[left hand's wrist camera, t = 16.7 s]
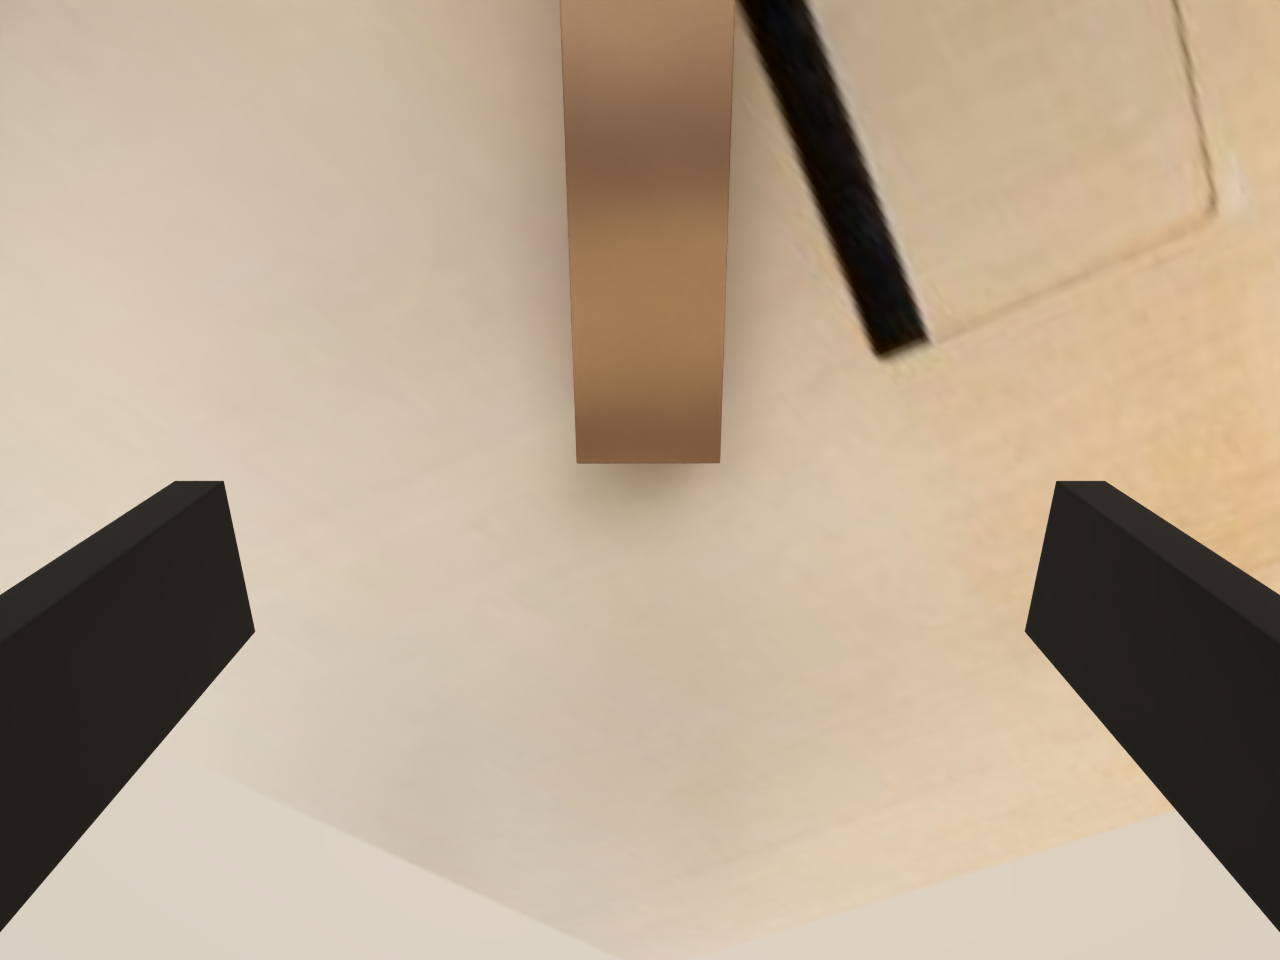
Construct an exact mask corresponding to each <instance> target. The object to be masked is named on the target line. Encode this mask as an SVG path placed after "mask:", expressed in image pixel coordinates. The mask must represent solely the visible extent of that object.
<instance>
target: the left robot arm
mask: <svg viewBox="0 0 1280 960" xmlns="http://www.w3.org/2000/svg"><path fill="white" fill-rule="evenodd" d="M254 632H255V629H254V624H253V619H252V614H251V610H250V605H249V600H248V595H247V590H246V586H245V581H244V576H243V571H242V567H241V562H240V557H239V552H238V547H237V543H236V538H235V533H234V528H233V523H232V519H231V514H230V509H229V504H228V500H227V495H226V490H225V485H224V481H174V482H173V483H171V484H170V485H168V486H167V487H165V488H164V489H162V490H161V491H159V492H158V493H156V494H154V495H153V496H151V497H150V498H148V499H147V500H145V501H144V502H142V503H141V504H139V505H138V506H136V507H135V508H133V509H131V510H130V511H128V512H127V513H125V514H124V515H122V516H121V517H119V518H118V519H116V520H115V521H113V522H112V523H110V524H108V525H107V526H105V527H104V528H102V529H101V530H99V531H98V532H96V533H95V534H93V535H92V536H90V537H88V538H87V539H85V540H84V541H82V542H81V543H79V544H78V545H76V546H75V547H73V548H72V549H70V550H69V551H67V552H65V553H64V554H62V555H61V556H59V557H58V558H56V559H55V560H53V561H52V562H50V563H49V564H47V565H46V566H44V567H42V568H41V569H39V570H38V571H36V572H35V573H33V574H32V575H30V576H29V577H27V578H26V579H24V580H23V581H21V582H19V583H18V584H16V585H15V586H13V587H12V588H10V589H9V590H7V591H6V592H4V593H3V594H1V595H0V932H1V931H2V929H3V928H4V927H5V926H6V925H7V924H8V922H9V921H10V920H11V919H12V918H13V916H14V915H15V914H16V913H17V912H18V911H19V909H20V908H21V907H22V906H23V905H24V904H25V902H26V901H27V900H28V899H29V898H30V896H31V895H32V894H33V893H34V892H35V891H36V889H37V888H38V887H39V886H40V885H41V883H42V882H43V881H44V880H45V879H46V877H47V876H48V875H49V874H50V873H51V872H52V871H53V869H54V868H55V867H56V866H57V865H58V863H59V862H60V861H61V860H62V859H63V857H64V856H65V855H66V854H67V853H68V852H69V850H70V849H71V848H72V847H73V846H74V845H75V843H76V842H77V841H78V840H79V839H80V838H81V836H82V835H83V834H84V833H85V832H86V830H87V829H88V828H89V827H90V826H91V825H92V823H93V822H94V821H95V820H96V819H97V817H98V816H99V815H100V814H101V813H102V812H103V810H104V809H105V808H106V807H107V806H108V804H109V803H110V802H111V801H112V800H113V799H114V797H115V796H116V795H117V794H118V793H119V792H120V790H121V789H122V788H123V787H124V786H125V784H126V783H127V782H128V781H129V780H130V779H131V777H132V776H133V775H134V774H135V773H136V771H137V770H138V769H139V768H140V767H141V766H142V764H143V763H144V762H145V761H146V760H147V759H148V757H149V756H150V755H151V754H152V753H153V751H154V750H155V749H156V748H157V747H158V746H159V744H160V743H161V742H162V741H163V740H164V738H165V737H166V736H167V735H168V734H169V733H170V731H171V730H172V729H173V728H174V727H175V726H176V724H177V723H178V722H179V721H180V720H181V718H182V717H183V716H184V715H185V714H186V713H187V711H188V710H189V709H190V708H191V707H192V705H193V704H194V703H195V702H196V701H197V700H198V698H199V697H200V696H201V695H202V694H203V693H204V691H205V690H206V689H207V688H208V687H209V685H210V684H211V683H212V682H213V681H214V680H215V678H216V677H217V676H218V675H219V674H220V672H221V671H222V670H223V669H224V668H225V667H226V665H227V664H228V663H229V662H230V661H231V660H232V658H233V657H234V656H235V655H236V654H237V652H238V651H239V650H240V649H241V648H242V647H243V645H244V644H245V643H246V642H247V641H248V639H249V638H250V637H251V636H252V635H253V634H254ZM1025 632H1026V634H1027V635H1028V636H1029V637H1030V638H1031V639H1032V641H1033V642H1034V643H1035V644H1036V645H1037V647H1038V648H1039V649H1040V650H1041V651H1042V652H1043V654H1044V655H1045V656H1046V657H1047V658H1048V660H1049V661H1050V662H1051V663H1052V664H1053V665H1054V667H1055V668H1056V669H1057V670H1058V671H1059V672H1060V674H1061V675H1062V676H1063V677H1064V678H1065V680H1066V681H1067V682H1068V683H1069V684H1070V685H1071V687H1072V688H1073V689H1074V690H1075V691H1076V693H1077V694H1078V695H1079V696H1080V697H1081V698H1082V700H1083V701H1084V702H1085V703H1086V704H1087V705H1088V707H1089V708H1090V709H1091V710H1092V711H1093V713H1094V714H1095V715H1096V716H1097V717H1098V718H1099V720H1100V721H1101V722H1102V723H1103V724H1104V726H1105V727H1106V728H1107V729H1108V730H1109V731H1110V733H1111V734H1112V735H1113V736H1114V737H1115V738H1116V740H1117V741H1118V742H1119V743H1120V744H1121V746H1122V747H1123V748H1124V749H1125V750H1126V751H1127V753H1128V754H1129V755H1130V756H1131V757H1132V759H1133V760H1134V761H1135V762H1136V763H1137V764H1138V766H1139V767H1140V768H1141V769H1142V770H1143V771H1144V773H1145V774H1146V775H1147V776H1148V777H1149V779H1150V780H1151V781H1152V782H1153V783H1154V784H1155V786H1156V787H1157V788H1158V789H1159V790H1160V792H1161V793H1162V794H1163V795H1164V796H1165V797H1166V799H1167V800H1168V801H1169V802H1170V803H1171V804H1172V806H1173V807H1174V808H1175V809H1176V810H1177V812H1178V813H1179V814H1180V815H1181V816H1182V817H1183V819H1184V820H1185V821H1186V822H1187V823H1188V825H1189V826H1190V827H1191V828H1192V829H1193V830H1194V832H1195V833H1196V834H1197V835H1198V836H1199V837H1200V839H1201V840H1202V841H1203V842H1204V843H1205V845H1206V846H1207V847H1208V848H1209V849H1210V850H1211V852H1212V853H1213V854H1214V855H1215V856H1216V858H1217V859H1218V860H1219V861H1220V862H1221V863H1222V865H1223V866H1224V867H1225V868H1226V869H1227V870H1228V872H1229V873H1230V874H1231V875H1232V876H1233V878H1234V879H1235V880H1236V881H1237V882H1238V883H1239V885H1240V886H1241V887H1242V888H1243V889H1244V891H1245V892H1246V893H1247V894H1248V895H1249V896H1250V898H1251V899H1252V900H1253V901H1254V902H1255V904H1256V905H1257V906H1258V907H1259V908H1260V909H1261V911H1262V912H1263V913H1264V914H1265V915H1266V916H1267V918H1268V919H1269V920H1270V921H1271V922H1272V924H1273V925H1274V926H1275V927H1276V928H1277V929H1278V931H1279V932H1280V595H1279V594H1277V593H1276V592H1274V591H1273V590H1271V589H1270V588H1268V587H1267V586H1265V585H1264V584H1262V583H1261V582H1259V581H1257V580H1256V579H1254V578H1253V577H1251V576H1250V575H1248V574H1247V573H1245V572H1244V571H1242V570H1241V569H1239V568H1238V567H1236V566H1234V565H1233V564H1231V563H1230V562H1228V561H1227V560H1225V559H1224V558H1222V557H1221V556H1219V555H1218V554H1216V553H1215V552H1213V551H1211V550H1210V549H1208V548H1207V547H1205V546H1204V545H1202V544H1201V543H1199V542H1198V541H1196V540H1195V539H1193V538H1192V537H1190V536H1188V535H1187V534H1185V533H1184V532H1182V531H1181V530H1179V529H1178V528H1176V527H1175V526H1173V525H1172V524H1170V523H1168V522H1167V521H1165V520H1164V519H1162V518H1161V517H1159V516H1158V515H1156V514H1155V513H1153V512H1152V511H1150V510H1149V509H1147V508H1145V507H1144V506H1142V505H1141V504H1139V503H1138V502H1136V501H1135V500H1133V499H1132V498H1130V497H1129V496H1127V495H1126V494H1124V493H1122V492H1121V491H1119V490H1118V489H1116V488H1115V487H1113V486H1112V485H1110V484H1109V483H1107V482H1106V481H1056V485H1055V490H1054V495H1053V500H1052V504H1051V509H1050V514H1049V519H1048V523H1047V528H1046V533H1045V538H1044V543H1043V547H1042V552H1041V557H1040V562H1039V567H1038V571H1037V576H1036V581H1035V586H1034V590H1033V595H1032V600H1031V605H1030V610H1029V614H1028V619H1027V624H1026V629H1025Z"/></svg>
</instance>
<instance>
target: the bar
mask: <svg viewBox="0 0 1280 960" xmlns="http://www.w3.org/2000/svg"><path fill="white" fill-rule="evenodd" d="M560 19H561V46H562V74H563V101H564V129H565V156H566V183H567V211H568V238H569V266H570V293H571V321H572V348H573V375H574V403H575V430H576V458H577V463H578V464H599V463H720V449H721V418H722V387H723V356H724V326H725V295H726V264H727V234H728V203H729V172H730V142H731V111H732V80H733V50H734V19H735V0H560Z"/></svg>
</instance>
